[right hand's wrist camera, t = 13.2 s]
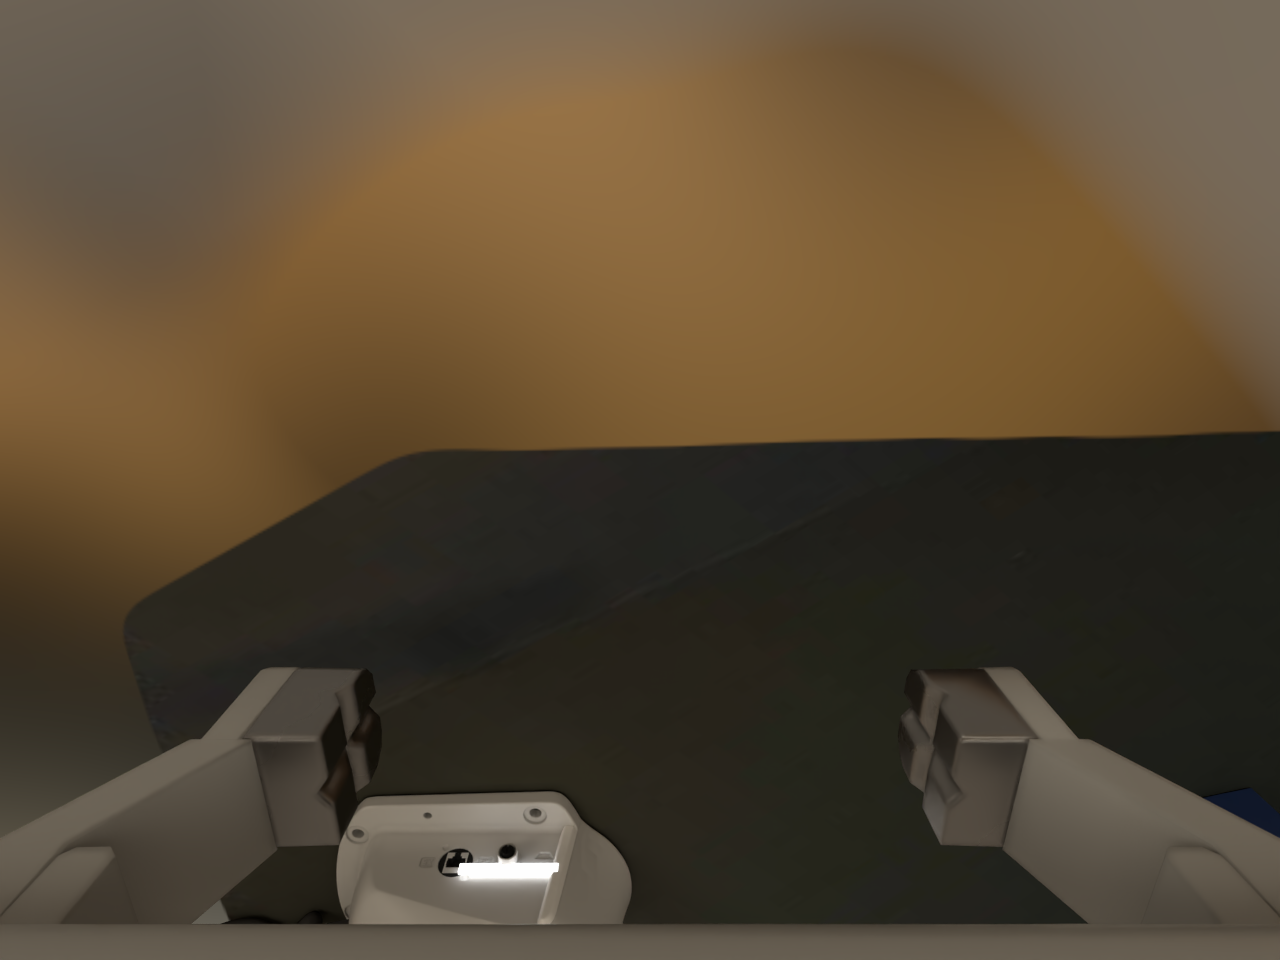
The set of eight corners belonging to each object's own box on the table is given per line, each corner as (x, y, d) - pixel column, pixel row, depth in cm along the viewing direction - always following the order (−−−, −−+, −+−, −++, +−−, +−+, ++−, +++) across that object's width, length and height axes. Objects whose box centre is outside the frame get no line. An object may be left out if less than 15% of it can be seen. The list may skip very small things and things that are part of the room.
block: (1187, 841, 52) (1230, 889, 49) (1186, 800, 51) (1230, 847, 47) (1250, 828, 52) (1298, 876, 48) (1250, 787, 51) (1300, 833, 47)
